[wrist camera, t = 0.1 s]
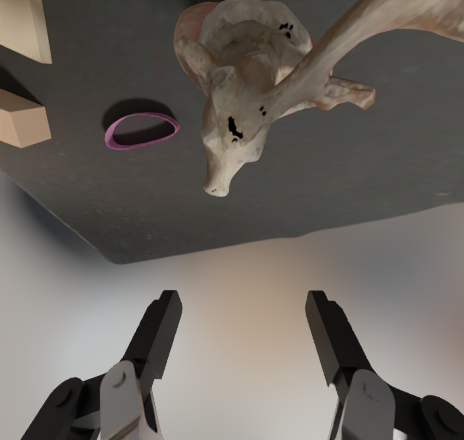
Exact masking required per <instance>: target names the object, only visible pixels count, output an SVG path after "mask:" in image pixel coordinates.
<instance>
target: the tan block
mask: <svg viewBox="0 0 464 440" xmlns="http://www.w3.org/2000/svg"><path fill="white" fill-rule="evenodd" d="M48 139H51V135H50V130H49V125H48V120H47V116H46V111H45V107H44V106H42V105H39V104H37V103H34V102H32V101H30V100H27V99H25V98H22V97H20V96H17V95H15V94H12V93H10V92H8V91H5V90H3V89H0V141H3V142H6V143H8V144H11V145H14V146H17V147H19V148H23V147H26V146H29V145H32V144H35V143H38V142H41V141H44V140H48Z"/></svg>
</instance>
